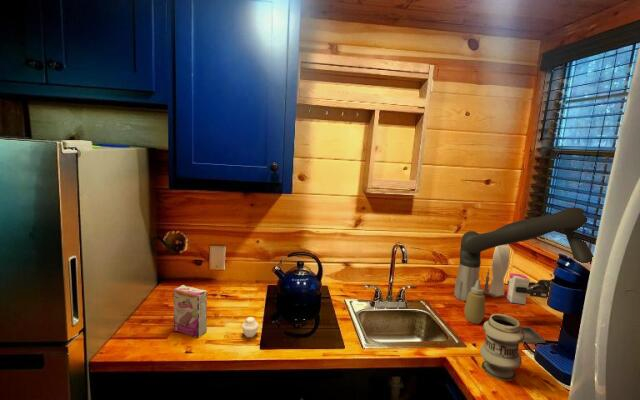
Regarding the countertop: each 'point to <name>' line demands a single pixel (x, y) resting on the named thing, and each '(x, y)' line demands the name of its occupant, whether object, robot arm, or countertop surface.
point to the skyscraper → (498, 271)
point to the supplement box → (512, 295)
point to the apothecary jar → (501, 346)
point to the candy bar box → (190, 310)
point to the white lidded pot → (250, 327)
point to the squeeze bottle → (475, 304)
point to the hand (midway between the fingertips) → (512, 286)
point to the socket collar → (531, 336)
